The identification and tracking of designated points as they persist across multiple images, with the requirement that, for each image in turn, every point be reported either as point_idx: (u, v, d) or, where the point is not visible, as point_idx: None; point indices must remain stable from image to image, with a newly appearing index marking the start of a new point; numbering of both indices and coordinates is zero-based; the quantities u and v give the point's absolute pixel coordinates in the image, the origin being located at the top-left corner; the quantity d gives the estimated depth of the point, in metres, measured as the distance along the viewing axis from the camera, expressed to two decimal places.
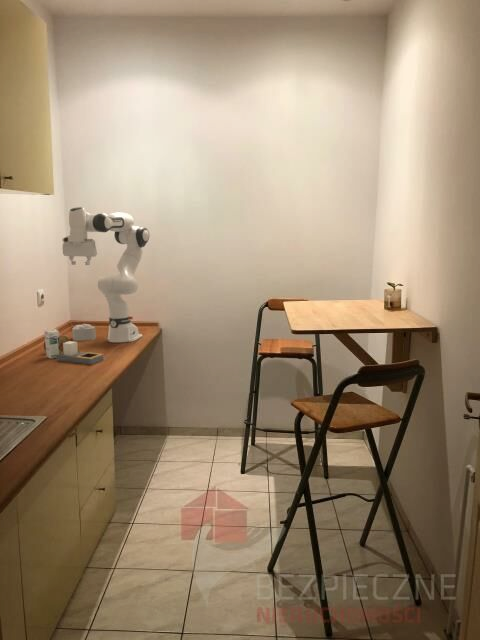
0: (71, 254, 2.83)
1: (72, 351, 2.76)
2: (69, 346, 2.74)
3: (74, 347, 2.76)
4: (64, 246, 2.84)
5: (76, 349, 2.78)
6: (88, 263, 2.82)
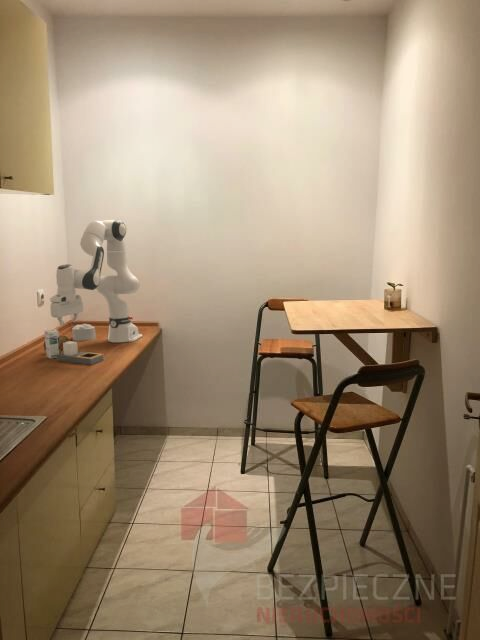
0: (64, 314, 2.69)
1: (72, 351, 2.76)
2: (69, 346, 2.74)
3: (74, 347, 2.76)
4: (59, 307, 2.65)
5: (76, 349, 2.78)
6: None
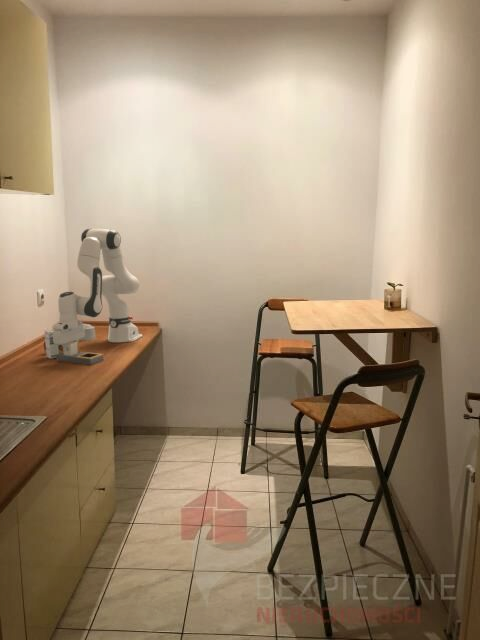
0: (67, 341, 2.72)
1: (72, 351, 2.76)
2: (69, 346, 2.74)
3: (74, 347, 2.76)
4: (61, 334, 2.68)
5: (76, 349, 2.78)
6: None
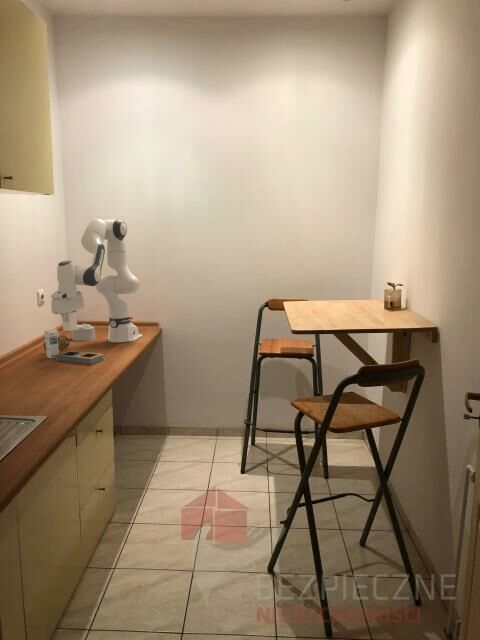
0: (65, 310, 2.69)
1: (71, 321, 2.72)
2: (68, 316, 2.71)
3: (72, 317, 2.73)
4: (60, 303, 2.64)
5: (75, 319, 2.75)
6: None
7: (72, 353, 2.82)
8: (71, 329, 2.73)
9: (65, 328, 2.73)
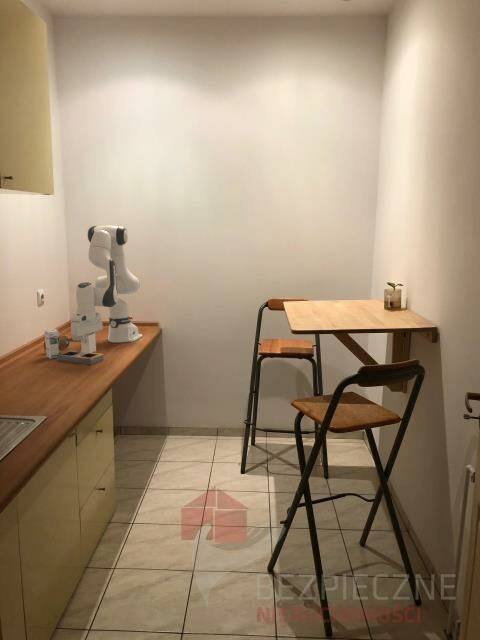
0: (84, 333, 2.66)
1: (90, 343, 2.70)
2: (87, 338, 2.68)
3: (91, 339, 2.70)
4: (79, 326, 2.62)
5: (94, 341, 2.72)
6: None
7: (72, 353, 2.82)
8: (90, 351, 2.70)
9: (84, 350, 2.71)
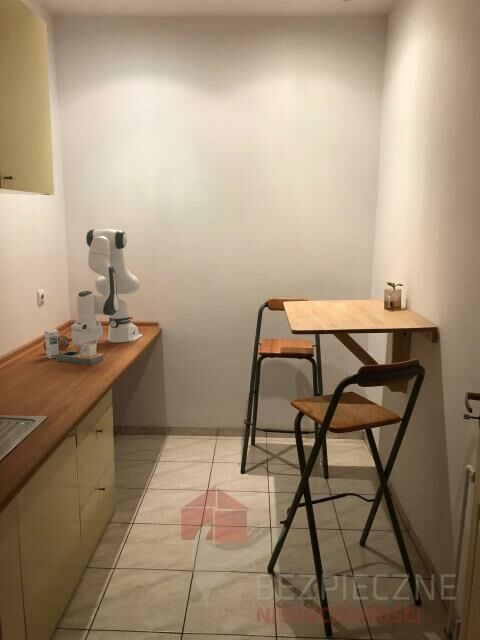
0: (85, 341, 2.67)
1: (91, 353, 2.71)
2: (88, 348, 2.70)
3: (92, 349, 2.72)
4: (80, 335, 2.63)
5: (94, 351, 2.73)
6: None
7: (72, 353, 2.82)
8: None
9: None
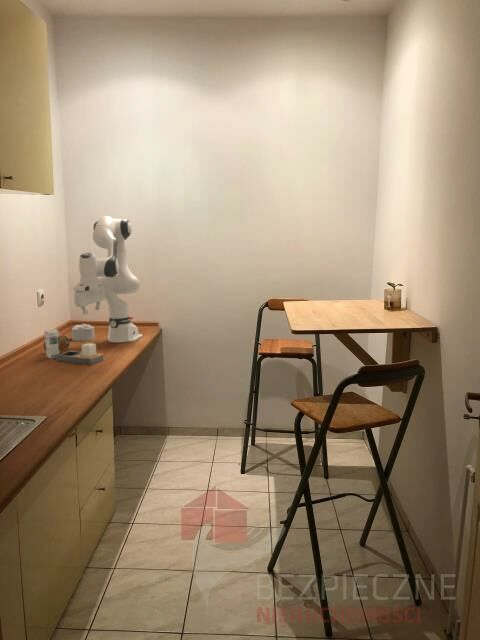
0: (88, 303, 2.70)
1: (91, 353, 2.71)
2: (88, 348, 2.70)
3: (92, 349, 2.72)
4: (82, 296, 2.66)
5: (94, 351, 2.73)
6: None
7: (72, 353, 2.82)
8: None
9: None
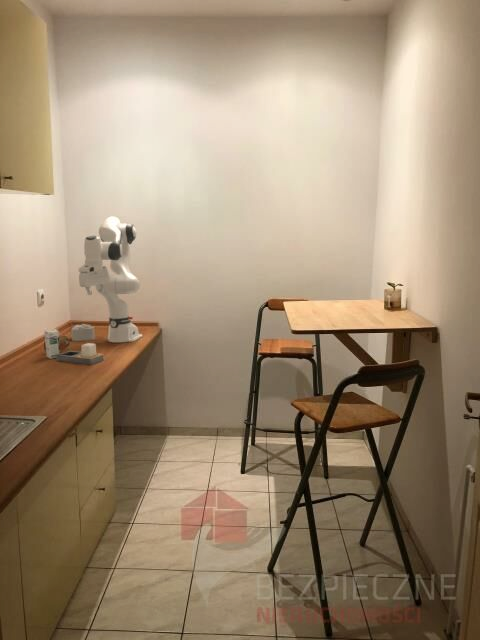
0: (92, 284, 2.77)
1: (91, 353, 2.71)
2: (88, 348, 2.70)
3: (92, 349, 2.72)
4: (87, 276, 2.72)
5: (94, 351, 2.73)
6: None
7: (72, 353, 2.82)
8: None
9: None
